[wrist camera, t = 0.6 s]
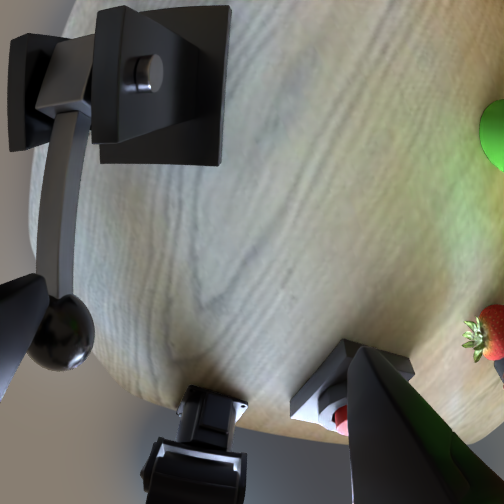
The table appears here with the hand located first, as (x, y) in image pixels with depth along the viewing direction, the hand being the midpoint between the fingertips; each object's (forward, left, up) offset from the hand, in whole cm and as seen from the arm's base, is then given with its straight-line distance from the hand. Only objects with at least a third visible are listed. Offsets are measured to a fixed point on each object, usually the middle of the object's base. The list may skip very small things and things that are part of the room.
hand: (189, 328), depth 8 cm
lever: (0, +6, -4) cm, 7 cm away
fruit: (+2, -28, -10) cm, 30 cm away
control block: (-14, -16, -13) cm, 25 cm away
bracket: (+4, +7, -13) cm, 16 cm away
